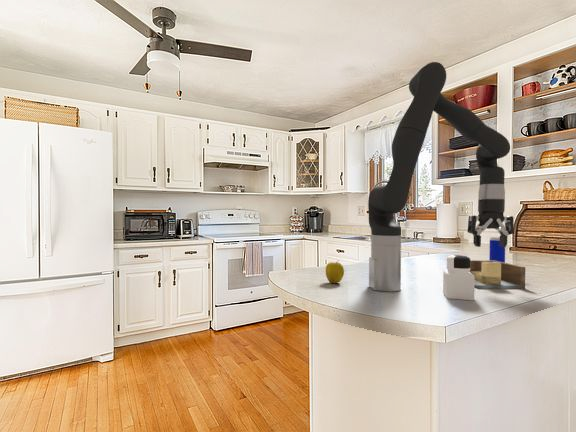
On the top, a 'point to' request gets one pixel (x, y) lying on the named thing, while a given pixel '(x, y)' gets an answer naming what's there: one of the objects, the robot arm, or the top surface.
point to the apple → (334, 272)
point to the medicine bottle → (458, 278)
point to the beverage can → (496, 250)
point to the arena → (502, 276)
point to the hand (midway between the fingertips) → (490, 246)
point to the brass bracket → (488, 273)
